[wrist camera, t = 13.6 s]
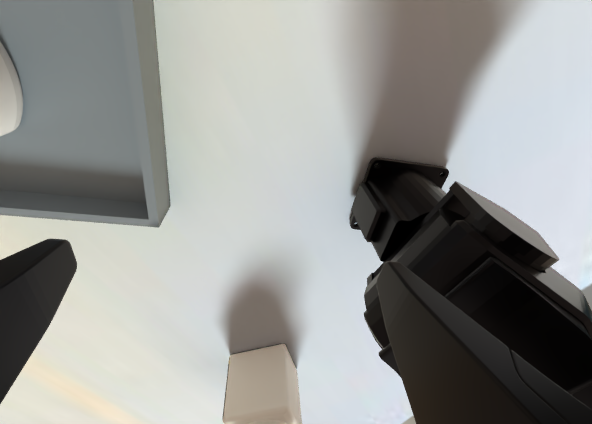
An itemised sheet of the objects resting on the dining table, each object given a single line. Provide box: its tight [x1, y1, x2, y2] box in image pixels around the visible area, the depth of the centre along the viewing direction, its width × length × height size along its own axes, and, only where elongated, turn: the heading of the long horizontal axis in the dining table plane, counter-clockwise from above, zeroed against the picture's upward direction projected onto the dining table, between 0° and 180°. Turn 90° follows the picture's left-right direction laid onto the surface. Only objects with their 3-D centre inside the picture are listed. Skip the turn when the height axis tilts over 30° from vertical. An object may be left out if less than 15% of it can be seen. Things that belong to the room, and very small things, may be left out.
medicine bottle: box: [223, 344, 302, 424], centre depth 31 cm, size 7×7×12 cm
